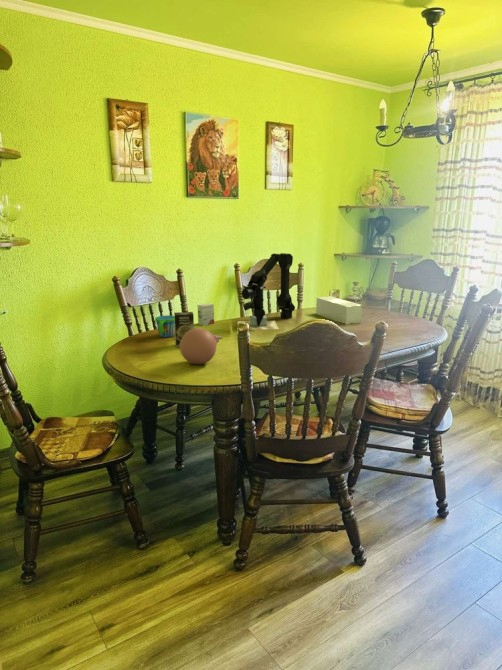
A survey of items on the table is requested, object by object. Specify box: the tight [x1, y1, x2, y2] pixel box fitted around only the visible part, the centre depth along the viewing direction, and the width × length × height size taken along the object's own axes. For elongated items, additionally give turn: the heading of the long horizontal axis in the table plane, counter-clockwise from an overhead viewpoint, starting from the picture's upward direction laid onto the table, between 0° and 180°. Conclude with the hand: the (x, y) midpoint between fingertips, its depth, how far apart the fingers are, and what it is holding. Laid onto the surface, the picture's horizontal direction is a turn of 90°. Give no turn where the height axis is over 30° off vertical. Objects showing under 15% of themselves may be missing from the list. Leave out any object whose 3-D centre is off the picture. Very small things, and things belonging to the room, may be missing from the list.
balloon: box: [179, 327, 223, 365], centre depth 191 cm, size 15×20×15 cm
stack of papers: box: [315, 295, 363, 325], centre depth 273 cm, size 32×11×11 cm, turn 25°
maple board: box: [236, 320, 280, 331], centre depth 251 cm, size 22×20×2 cm
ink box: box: [197, 302, 215, 327], centre depth 259 cm, size 9×5×12 cm, turn 129°
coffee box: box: [173, 311, 195, 348], centre depth 216 cm, size 9×6×16 cm
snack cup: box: [154, 314, 175, 339], centre depth 234 cm, size 16×10×10 cm
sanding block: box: [249, 315, 268, 326], centre depth 251 cm, size 9×6×4 cm, turn 94°
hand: (258, 324), depth 251 cm, fingers closed on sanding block, 5 cm apart
